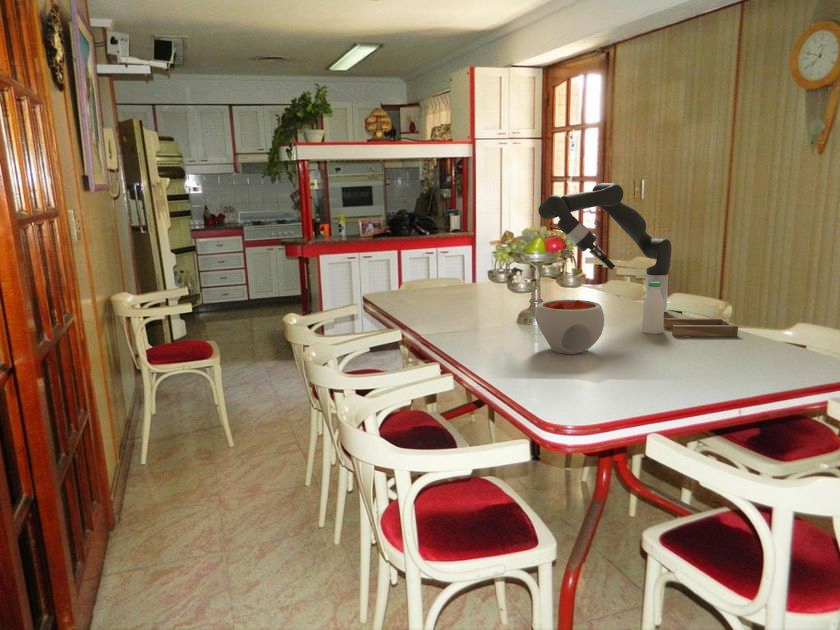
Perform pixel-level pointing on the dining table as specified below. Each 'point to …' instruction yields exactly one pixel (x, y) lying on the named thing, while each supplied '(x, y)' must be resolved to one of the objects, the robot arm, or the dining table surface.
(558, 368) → the dining table surface
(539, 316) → the pot
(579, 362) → the dining table surface
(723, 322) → the walnut U-rest
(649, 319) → the milk bottle
